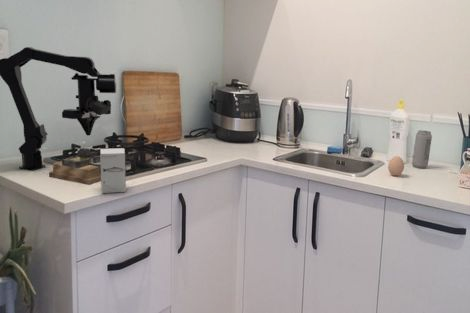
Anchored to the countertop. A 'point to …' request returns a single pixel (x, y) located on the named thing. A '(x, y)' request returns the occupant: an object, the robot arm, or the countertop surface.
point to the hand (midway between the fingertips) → (88, 135)
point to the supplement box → (112, 170)
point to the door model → (78, 169)
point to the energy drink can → (422, 149)
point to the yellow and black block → (83, 155)
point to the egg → (396, 166)
